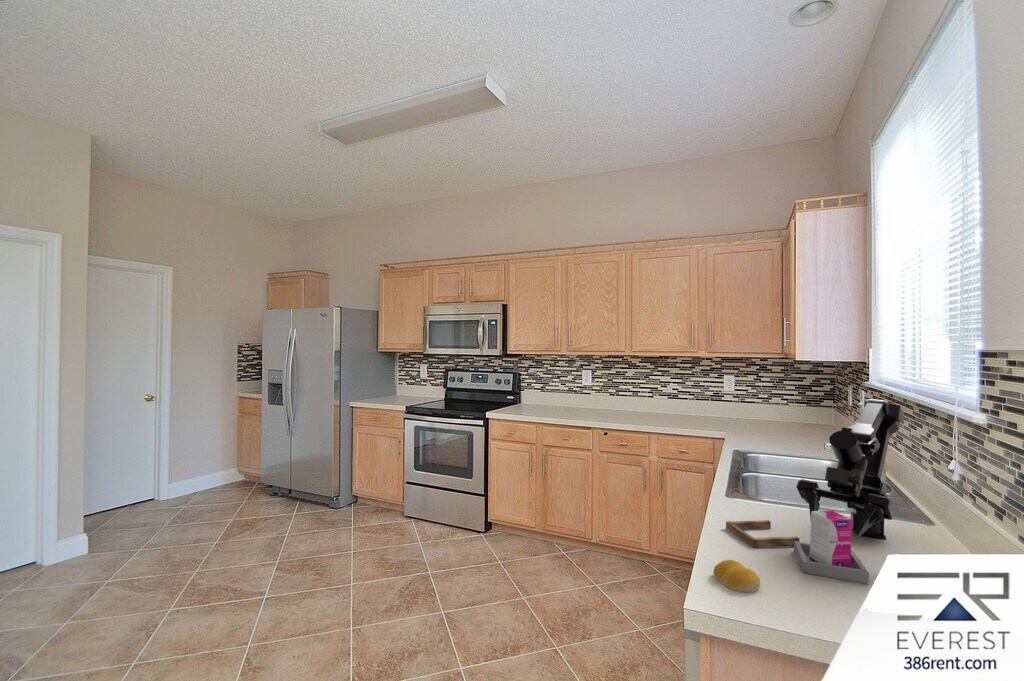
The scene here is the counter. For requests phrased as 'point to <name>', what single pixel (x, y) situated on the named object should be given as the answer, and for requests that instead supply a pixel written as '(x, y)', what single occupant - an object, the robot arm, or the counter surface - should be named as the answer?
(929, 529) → the counter surface
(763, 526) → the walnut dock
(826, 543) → the supplement box
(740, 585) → the bread roll
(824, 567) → the grey tray
